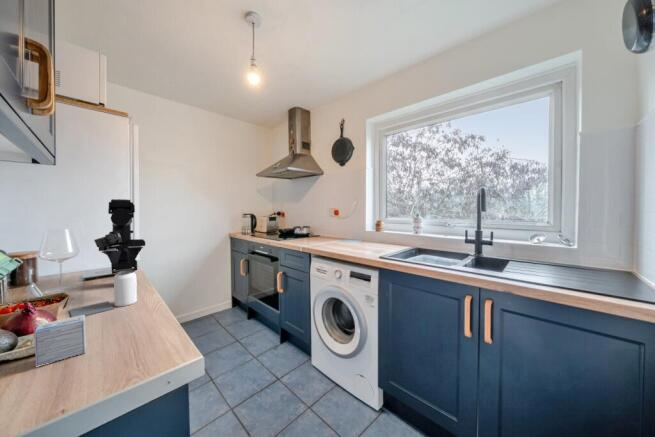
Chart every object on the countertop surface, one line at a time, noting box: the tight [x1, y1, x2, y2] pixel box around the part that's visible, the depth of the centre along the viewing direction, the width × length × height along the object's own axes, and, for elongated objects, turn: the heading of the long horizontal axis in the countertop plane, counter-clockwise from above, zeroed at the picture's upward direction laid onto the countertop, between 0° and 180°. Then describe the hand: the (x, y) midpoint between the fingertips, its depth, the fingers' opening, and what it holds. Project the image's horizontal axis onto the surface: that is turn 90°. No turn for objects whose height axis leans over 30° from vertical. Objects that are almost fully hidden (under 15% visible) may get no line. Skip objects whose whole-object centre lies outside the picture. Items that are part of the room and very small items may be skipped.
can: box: [113, 270, 138, 308], centre depth 88 cm, size 6×6×12 cm
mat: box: [68, 301, 115, 318], centre depth 83 cm, size 10×10×1 cm
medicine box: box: [33, 315, 87, 367], centre depth 57 cm, size 8×4×9 cm, turn 135°
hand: (122, 266), depth 96 cm, fingers open, 9 cm apart
